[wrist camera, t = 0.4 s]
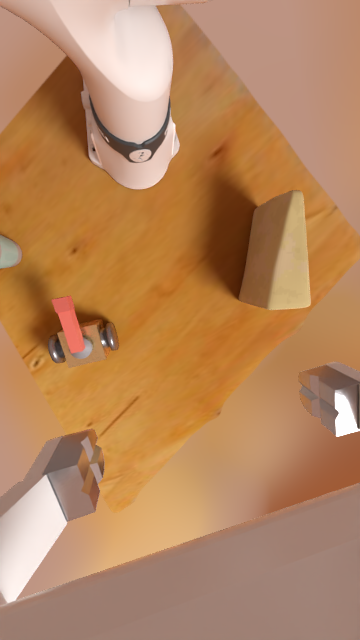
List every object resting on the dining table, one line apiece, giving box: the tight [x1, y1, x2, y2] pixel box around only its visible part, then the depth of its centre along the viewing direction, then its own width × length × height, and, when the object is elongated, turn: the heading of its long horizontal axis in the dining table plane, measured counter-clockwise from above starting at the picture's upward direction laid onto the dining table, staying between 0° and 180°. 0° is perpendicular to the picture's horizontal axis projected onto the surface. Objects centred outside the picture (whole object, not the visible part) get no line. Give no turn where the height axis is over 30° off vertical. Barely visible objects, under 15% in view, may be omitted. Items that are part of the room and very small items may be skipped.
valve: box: [48, 319, 119, 368], centre depth 49 cm, size 8×13×6 cm, turn 102°
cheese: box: [239, 190, 311, 310], centre depth 47 cm, size 22×10×15 cm, turn 3°
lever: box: [52, 296, 93, 359], centre depth 43 cm, size 13×4×4 cm, turn 12°
